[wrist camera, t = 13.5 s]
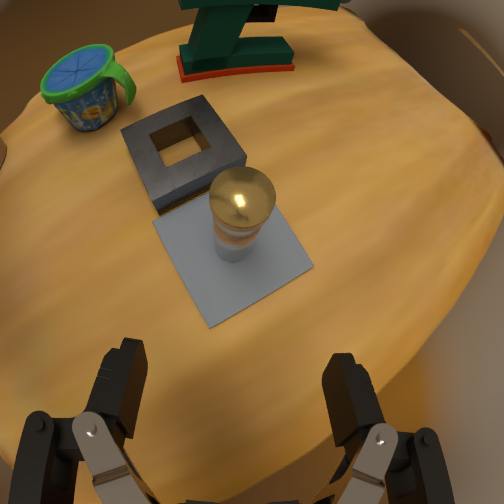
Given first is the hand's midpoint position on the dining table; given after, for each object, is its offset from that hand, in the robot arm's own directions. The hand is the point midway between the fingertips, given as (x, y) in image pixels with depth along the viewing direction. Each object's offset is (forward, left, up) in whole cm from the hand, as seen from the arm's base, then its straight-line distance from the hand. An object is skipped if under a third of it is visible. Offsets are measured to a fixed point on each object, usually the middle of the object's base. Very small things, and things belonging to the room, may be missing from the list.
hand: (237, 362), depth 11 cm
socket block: (-21, +6, -18) cm, 28 cm away
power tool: (-34, +28, -18) cm, 47 cm away
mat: (-8, +6, -18) cm, 20 cm away
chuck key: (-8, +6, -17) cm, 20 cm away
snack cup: (-36, -2, -18) cm, 40 cm away
